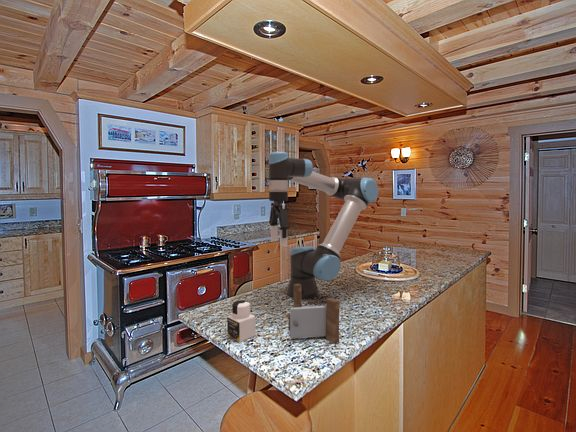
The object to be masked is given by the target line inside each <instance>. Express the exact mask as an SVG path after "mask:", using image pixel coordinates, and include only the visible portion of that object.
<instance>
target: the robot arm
mask: <svg viewBox="0 0 576 432" xmlns="http://www.w3.org/2000/svg"><path fill="white" fill-rule="evenodd" d="M313 167H314V165H313V163H312V161H311V160H310V159H308V158H295V157H294V158H293V157H289V156H288V152H286V151H272V152H270V153H269V155H268V183H267V185H268V187H269V188H268V190H269V192H268V201H270V203H271V204H270V213H269V221H268V223H269V224H270V241H271V242H277V241H278V229H279V247H281V248H282V247H288V229H290V222H289V216H288V207H287V206H288V205H287V203H284V202H287V201H288V200H289V195H288V194H289V192H288V190H289V181H290V182H293V183H296V184H300V185H302V186H306V187H309V188H312V189H315V190H319V191H321V192H324V193H325V194H326V195H327V196H329V197H333V198H336V199H338V200H341V201H344V203H343V205H342V207H341V209H340V211H339V212H338V214H337V216H336V218H335V220H334V222H333V223H332V226H331V227H330V229H329V231H328V233H327V234H326V236H325V238H324V240H323V242H322V243H320V244H319V243H318V244H317V246H316V248H315V246H311V245H309V246H296V247H292V248H291V250H290V255H289V258H290V279H289V282H288V286H287V288H286V294H287V296H289V297H291V298H294V296H293V285H294V284H301V285H302V299H304V300H305V299H312V298H315V297H317V296H318V295H319V288H318V284H317V281H316V279H317V280H320V281H325V282H328V281H332V280H334V279H335V278H337V276H338V275H339V273H340V271H341V267H342V266H341V253H340V252H341V250H342V248H343V246H344V244H345V243H346V241H347V238H348V236H349V234H350V233H351V231H352V229H353V227H354V226H355V223H356V221H357V219H358V218H359V216H360V213H361V212H362V211H364V210H366V209H367V208H368V205H369V204H370V203H374V202H375V201H377V199H378V197H379V186H378V184H377V182H376V181H375V179H373V178H372V177H365V176H364V177H358V178H357V177H356V178H355V177H354V178H353V177H352V178H349V177H347V178H341V177H340V178H338V177H336V176H332V177H329V176H327V175H324V174H321V173H318V172H316V171H313V170H314V168H313ZM278 222H279V224H278ZM278 226H280V227H279V228H278Z"/></svg>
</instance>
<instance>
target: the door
mask: <svg viewBox="0 0 576 432" xmlns="http://www.w3.org/2000/svg"><path fill="white" fill-rule="evenodd" d="M289 311H290V312H289V314H290V331H289V332H290V336H289V337H290V339H303V338H304V339H305V338H316V337H325V338H326V312H327V303H324V304H323V305H315V306H302V307H296V308H294V307H289Z"/></svg>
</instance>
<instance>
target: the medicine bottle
mask: <svg viewBox="0 0 576 432" xmlns="http://www.w3.org/2000/svg"><path fill="white" fill-rule="evenodd" d="M231 306H232V307H231V309H232V314H230V315H227V318H226V321H227V325H226V328H227V336H228V337H229V338H231V339H233V340H235V341H236V342H238V343H242V342H243V341H246V340H249V339H250V338H253V337H255V336H256V335H257V331H256V330H257V329H256V327H257V324H256V322H257V321H256V320H257V319H256V316H255V315H254V314H252V313H251V303H250V302H249V301H247V300H244V299H243V300H241V299H240V300H237V301H234V302H233V303H232V305H231Z"/></svg>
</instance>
